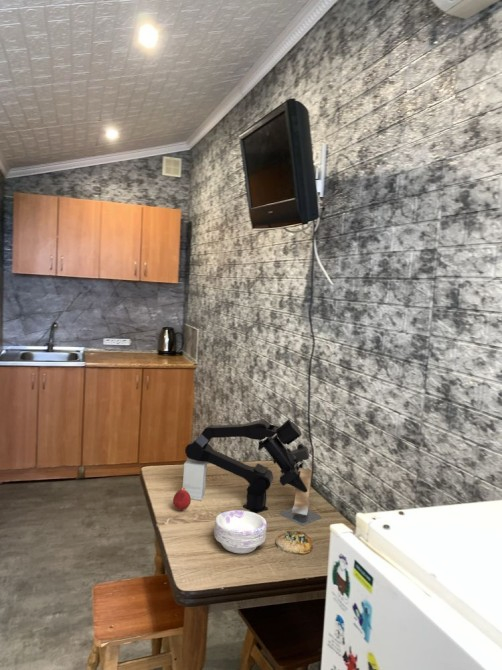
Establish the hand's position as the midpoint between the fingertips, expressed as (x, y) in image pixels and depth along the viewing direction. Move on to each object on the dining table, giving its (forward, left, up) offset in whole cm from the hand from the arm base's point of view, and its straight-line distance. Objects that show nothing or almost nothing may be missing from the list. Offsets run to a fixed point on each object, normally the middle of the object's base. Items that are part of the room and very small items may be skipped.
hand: (307, 489), depth 169 cm
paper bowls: (-32, -2, -10) cm, 33 cm away
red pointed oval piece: (-33, +26, -10) cm, 43 cm away
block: (-1, +1, -7) cm, 7 cm away
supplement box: (-22, +34, -10) cm, 42 cm away
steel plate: (-1, +1, -10) cm, 10 cm away
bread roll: (-18, -11, -10) cm, 24 cm away
